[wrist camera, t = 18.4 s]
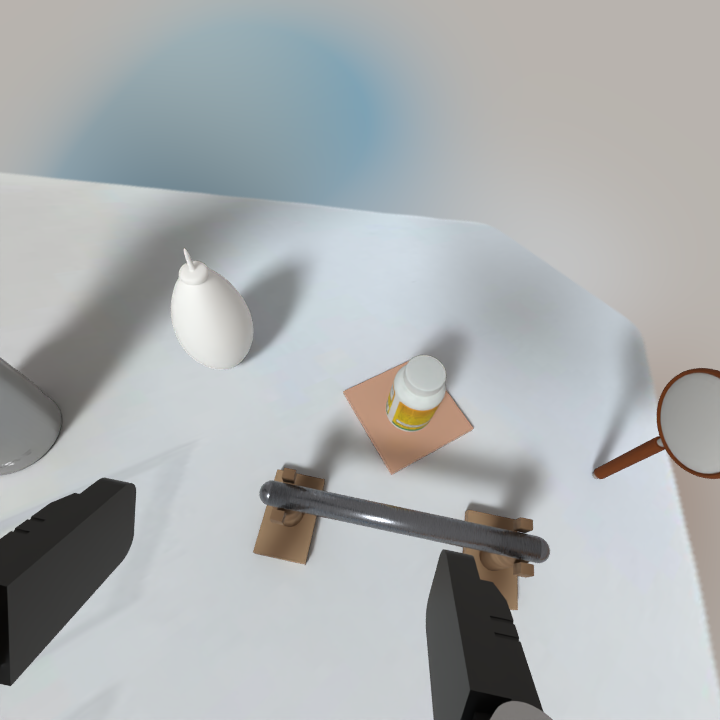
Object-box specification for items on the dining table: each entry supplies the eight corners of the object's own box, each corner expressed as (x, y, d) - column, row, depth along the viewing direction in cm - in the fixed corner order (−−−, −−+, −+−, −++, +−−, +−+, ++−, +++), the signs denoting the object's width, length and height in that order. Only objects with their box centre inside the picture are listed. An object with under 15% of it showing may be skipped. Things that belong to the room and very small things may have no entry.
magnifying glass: (613, 516, 45) (792, 459, 28) (598, 516, 45) (767, 458, 28) (590, 439, 49) (732, 347, 32) (576, 438, 49) (710, 347, 32)
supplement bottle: (376, 402, 49) (387, 360, 41) (415, 383, 51) (433, 340, 43) (400, 441, 47) (417, 406, 39) (440, 421, 49) (464, 383, 40)
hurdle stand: (254, 553, 41) (236, 539, 33) (278, 472, 45) (267, 441, 37) (512, 609, 40) (561, 609, 32) (512, 522, 44) (555, 501, 36)
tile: (343, 393, 50) (343, 391, 50) (420, 357, 53) (421, 355, 53) (391, 475, 46) (392, 473, 45) (472, 430, 49) (473, 428, 48)
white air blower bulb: (237, 395, 49) (197, 296, 34) (180, 370, 50) (115, 263, 35) (271, 343, 53) (248, 234, 38) (216, 321, 54) (173, 206, 39)
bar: (258, 505, 35) (254, 500, 34) (265, 481, 36) (262, 475, 35) (543, 566, 35) (555, 564, 33) (542, 540, 36) (553, 537, 34)
